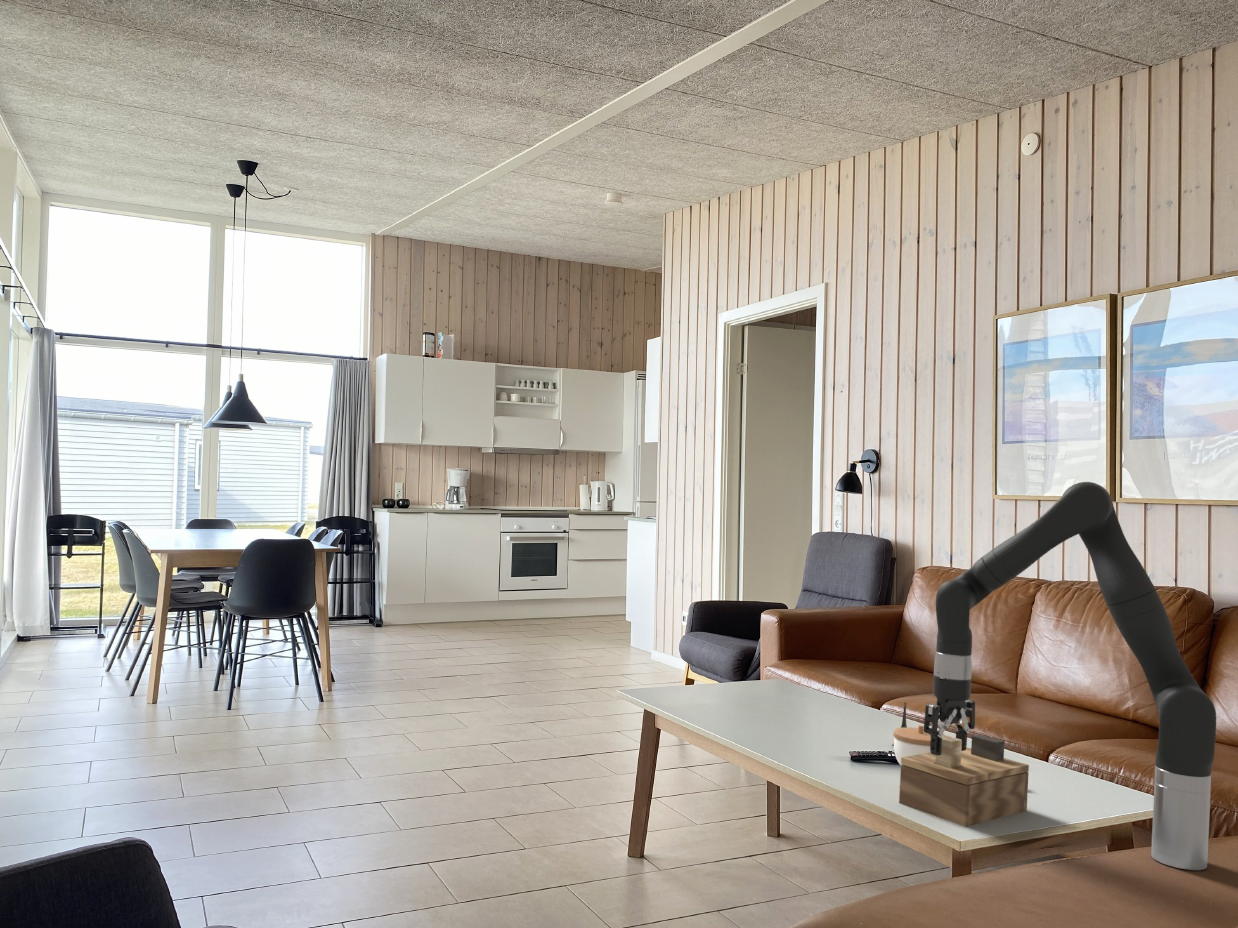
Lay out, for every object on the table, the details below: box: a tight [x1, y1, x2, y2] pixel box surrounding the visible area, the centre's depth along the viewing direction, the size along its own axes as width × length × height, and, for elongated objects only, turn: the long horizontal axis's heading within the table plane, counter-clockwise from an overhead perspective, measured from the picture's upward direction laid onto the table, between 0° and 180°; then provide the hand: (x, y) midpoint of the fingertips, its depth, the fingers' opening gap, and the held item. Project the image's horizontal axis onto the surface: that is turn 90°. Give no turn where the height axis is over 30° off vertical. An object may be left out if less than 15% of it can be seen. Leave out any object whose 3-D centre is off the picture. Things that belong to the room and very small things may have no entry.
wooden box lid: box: [901, 734, 1030, 785], centre depth 210 cm, size 22×16×5 cm
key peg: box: [935, 735, 962, 769], centre depth 206 cm, size 4×4×15 cm
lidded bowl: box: [893, 724, 947, 766], centre depth 239 cm, size 13×13×11 cm
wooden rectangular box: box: [898, 765, 1029, 827], centre depth 209 cm, size 22×16×9 cm
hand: (948, 752), depth 206 cm, fingers open, 8 cm apart
